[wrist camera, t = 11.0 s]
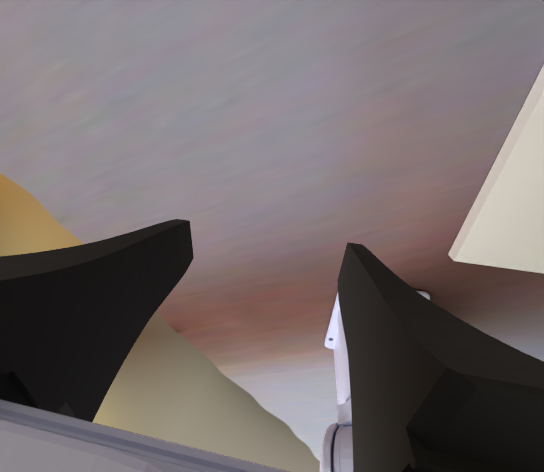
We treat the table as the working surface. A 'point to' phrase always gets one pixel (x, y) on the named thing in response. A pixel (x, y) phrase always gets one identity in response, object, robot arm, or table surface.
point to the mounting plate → (511, 198)
